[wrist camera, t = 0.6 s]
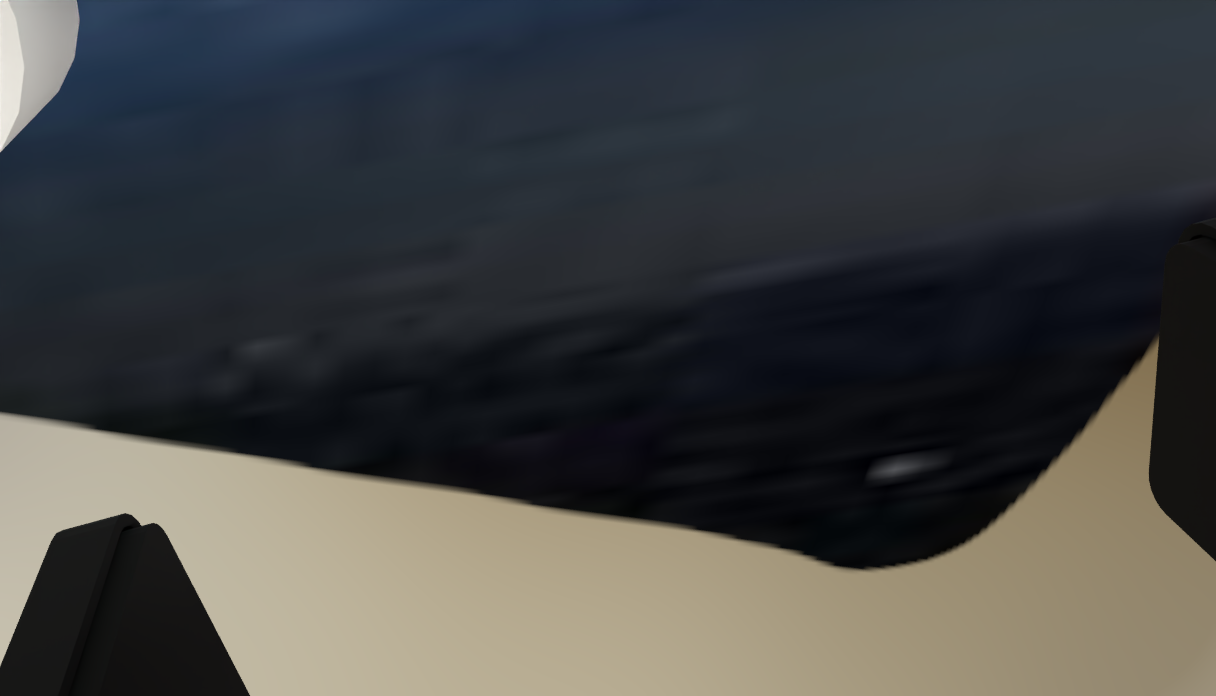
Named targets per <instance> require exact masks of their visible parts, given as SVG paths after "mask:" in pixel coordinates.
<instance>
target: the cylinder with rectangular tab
mask: <svg viewBox="0 0 1216 696" xmlns="http://www.w3.org/2000/svg"><path fill="white" fill-rule="evenodd" d="M78 28H79V13H78V6H77V0H0V152H1V151H2V150H3V149H4V148H5V147H6V146H7V145H8V144H9V143H10V142H11V141H12V140H13V138H14V137H15V136H16V135H17V134H18V133H19V132H20V131H21V130H22V129H23V128H24V127H25V126H26V125H27V124H28V123H29V122H30V121H31V120H32V119H33V118H34V117H35V116H36V115H37V114H38V113H39V111H40V110H41V109H42V108H43V107H44V106H45V105H46V104H47V103H48V102H49V101H50V100H51V99H52V98H53V97H54V96H55V95H56V94H57V93H58V91H59V89H60V87H61V85H62V83H63V81H64V79H65V77H66V75H67V73H68V70H69V68H70V66H71V64H72V62H73V60H74V57H75V50H76V42H77V35H78Z"/></svg>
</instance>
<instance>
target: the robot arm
mask: <svg viewBox="0 0 1216 696" xmlns="http://www.w3.org/2000/svg"><path fill="white" fill-rule="evenodd" d="M1156 374H1157V375H1156V386H1155V399H1154V413H1153V426H1152V438H1151V451H1150V465H1149V482H1150V486H1151V490H1152V493H1153V495H1154V498H1155V500H1156V501H1157V503H1158V504H1159V506H1160V508H1161V509H1162V510H1163V511H1164V512H1165V514H1166V515H1167V516H1169V517H1170V518H1171V519H1172V520H1173V521H1174V522H1175V523H1176V524H1177V525H1178V526H1179V527H1180V528H1182V530H1183V531H1184V532H1186V533H1187V534H1188V535H1189V536H1190V537H1191V538H1192V539H1193V540H1194V541H1195V542H1196V543H1197V544H1198V545H1199V546H1200V547H1201V548H1202V549H1203V550H1205V551H1206V552H1207V553H1208V554H1209V555H1210V556H1211V557H1212V558H1213V559H1214V560H1215V561H1216V218H1213V219H1209V220H1205V221H1202V222H1198V223H1194V224H1191V225H1190V226H1189V227H1187V228H1186V229H1185V230H1184V231H1183V233H1182V235H1181V236H1180V238H1179V242H1178V244H1176V245H1175V246H1173V247H1172V248H1170V250H1169V252H1168V254H1167V256H1166V261H1165V269H1164V282H1163V295H1162V308H1161V321H1160V334H1159V347H1158V360H1157V373H1156ZM0 696H250V695H249V693H248V691H247V689H246V687H245V685H244V683H243V681H242V679H241V677H240V675H239V674H238V672H237V670H236V668H235V666H234V664H233V662H232V660H231V658H230V656H229V654H228V652H227V650H226V648H225V647H224V644H223V643H222V641H221V639H220V637H219V635H218V633H217V631H216V629H215V627H214V625H213V623H212V621H211V619H210V617H209V616H208V614H207V612H206V610H205V608H204V606H203V604H202V602H201V600H200V598H199V596H198V595H197V593H196V590H195V588H194V587H193V585H192V583H191V581H190V579H189V577H188V575H187V573H186V571H185V569H184V567H183V565H182V563H181V561H180V560H179V558H178V556H177V554H176V552H175V550H174V548H173V546H172V544H171V542H170V540H169V538H168V536H167V535H166V533H165V532H164V530H163V529H162V528H161V527H160V526H159V525H158V524H155V523H151V524H148V525H144V526H141V525H140V523H139V522H138V521H137V520H136V519H135V518H134V517H133V516H132V515H129V514H126V513H125V514H121V515H118V516H114V517H110V518H106V519H103V520H99V521H95V522H92V523H88V524H84V525H80V526H77V527H73V528H69V529H66V530H62V531H60V532H58V533H56V535H55V536H54V538H53V539H52V541H51V543H50V545H49V548H48V550H47V553H46V556H45V558H44V560H43V563H42V565H41V568H40V570H39V573H38V575H37V577H36V580H35V583H34V585H33V587H32V590H31V592H30V595H29V597H28V600H27V602H26V604H25V607H24V609H23V612H22V614H21V617H20V619H19V622H18V624H17V627H16V629H15V632H14V634H13V637H12V639H11V642H10V644H9V646H8V649H7V651H6V654H5V656H4V659H3V661H2V663H1V666H0Z"/></svg>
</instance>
